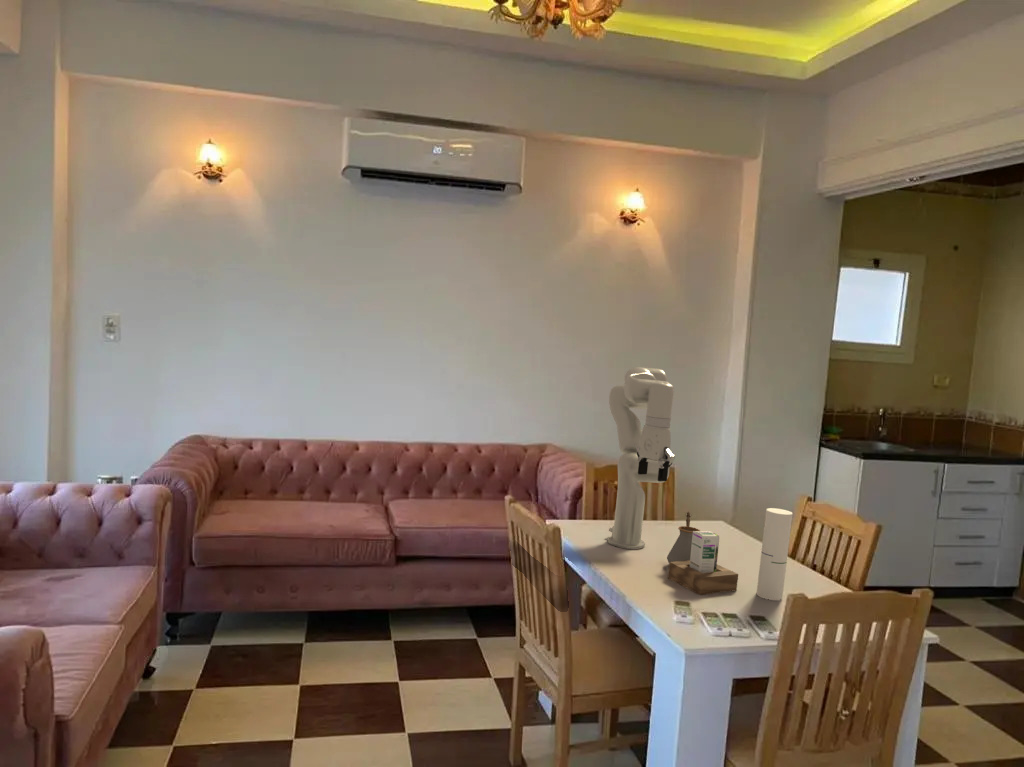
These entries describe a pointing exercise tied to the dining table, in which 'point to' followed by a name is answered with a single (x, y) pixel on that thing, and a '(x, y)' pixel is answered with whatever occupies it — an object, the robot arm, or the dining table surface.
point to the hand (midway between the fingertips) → (652, 477)
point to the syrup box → (704, 551)
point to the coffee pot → (682, 543)
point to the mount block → (703, 578)
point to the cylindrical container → (774, 553)
